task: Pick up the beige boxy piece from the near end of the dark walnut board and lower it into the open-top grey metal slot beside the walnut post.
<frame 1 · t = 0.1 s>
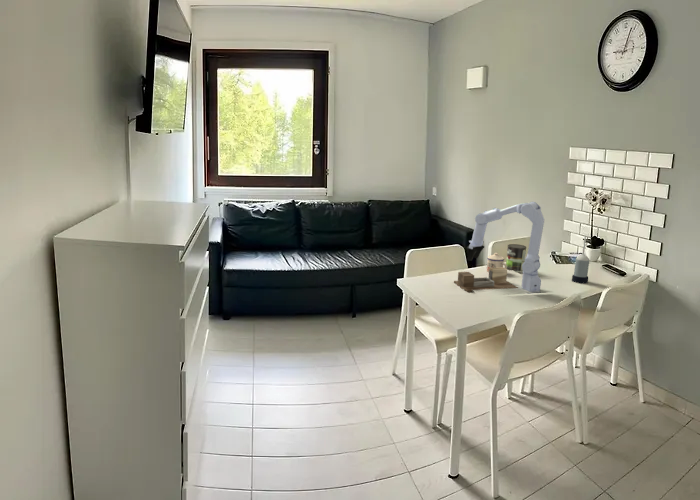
hand: (472, 259, 289), 11 cm above the table, tool pointing down, fingers open, 7 cm apart
post board: (485, 286, 278), on the table
teacup with lid: (496, 274, 302), on the table
humidifier: (579, 281, 292), on the table
coffee can: (514, 270, 312), on the table
beige boxy piece: (497, 281, 283), point 1 cm above the table, touching post board
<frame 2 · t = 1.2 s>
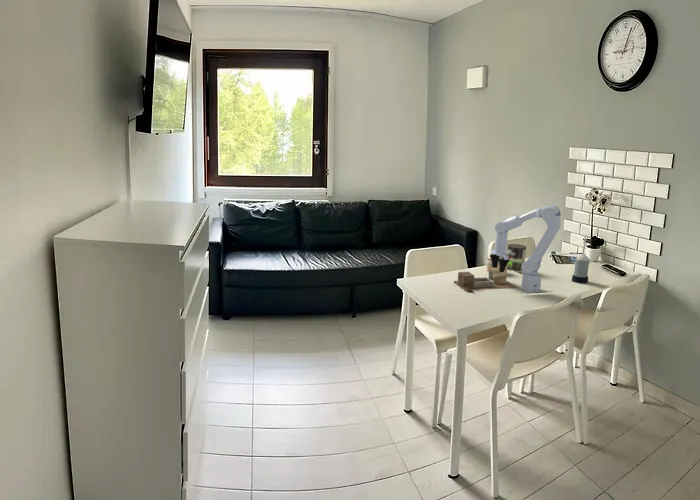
hand: (498, 270, 282), 7 cm above the table, tool pointing down, fingers open, 7 cm apart
nothing on the table moved.
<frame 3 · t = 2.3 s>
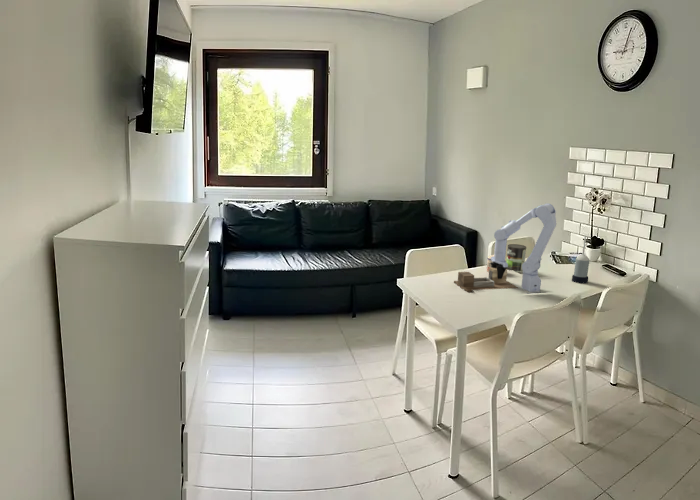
hand: (497, 277, 283), 3 cm above the table, tool pointing down, fingers closed on beige boxy piece, 4 cm apart
beige boxy piece: (497, 281, 283), point 1 cm above the table, touching gripper, post board
everything else where it was.
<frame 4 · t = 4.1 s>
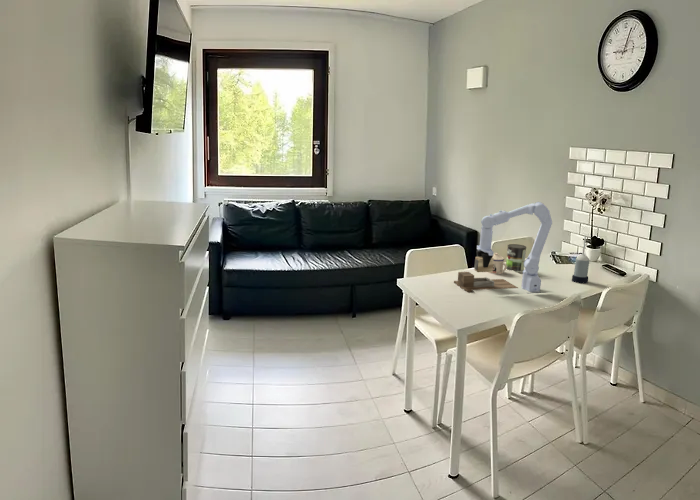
hand: (483, 266, 276), 10 cm above the table, tool pointing down, fingers closed on beige boxy piece, 4 cm apart
beige boxy piece: (483, 271, 276), point 8 cm above the table, touching gripper
everything else where it was.
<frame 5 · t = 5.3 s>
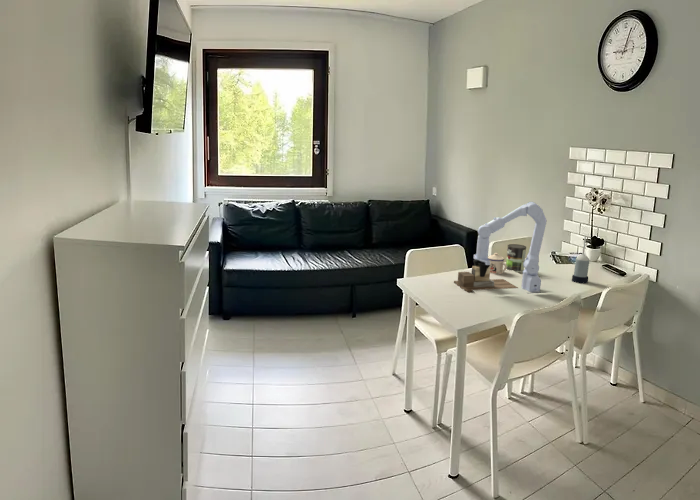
hand: (480, 275, 276), 6 cm above the table, tool pointing down, fingers closed on beige boxy piece, 4 cm apart
beige boxy piece: (480, 280, 276), point 3 cm above the table, touching gripper
everything else where it was.
when the fingers open (5 cm above the table, at t = 6.0 s): beige boxy piece drops 1 cm, resting on post board.
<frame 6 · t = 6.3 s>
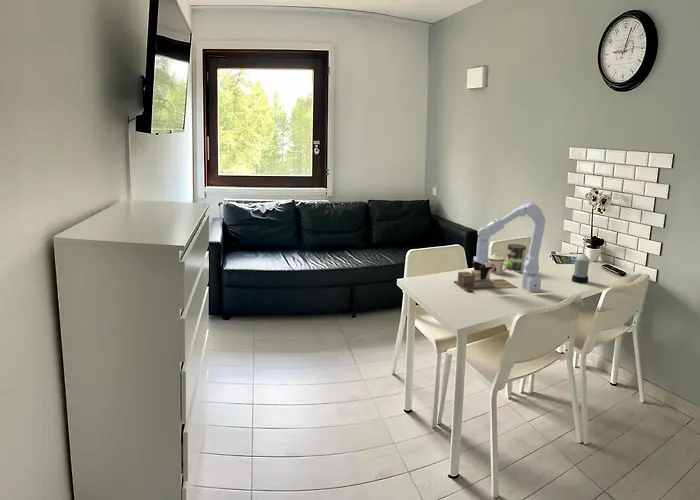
hand: (480, 277, 276), 5 cm above the table, tool pointing down, fingers open, 6 cm apart
beige boxy piece: (479, 284, 277), point 1 cm above the table, touching post board
everything else where it was.
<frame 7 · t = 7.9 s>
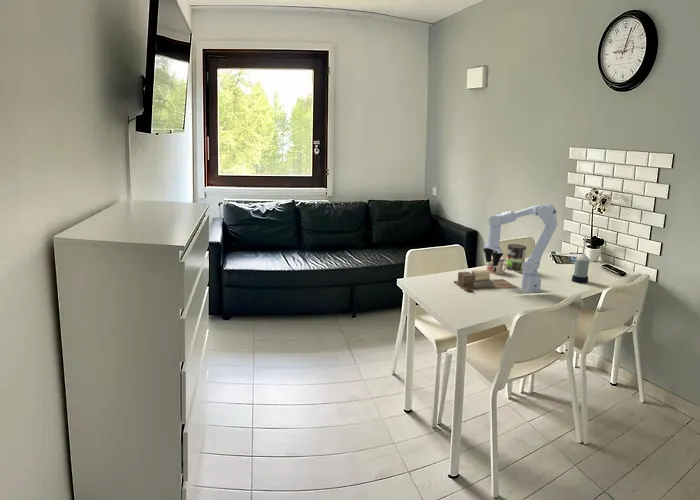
hand: (491, 263, 281), 10 cm above the table, tool pointing down, fingers open, 7 cm apart
nothing on the table moved.
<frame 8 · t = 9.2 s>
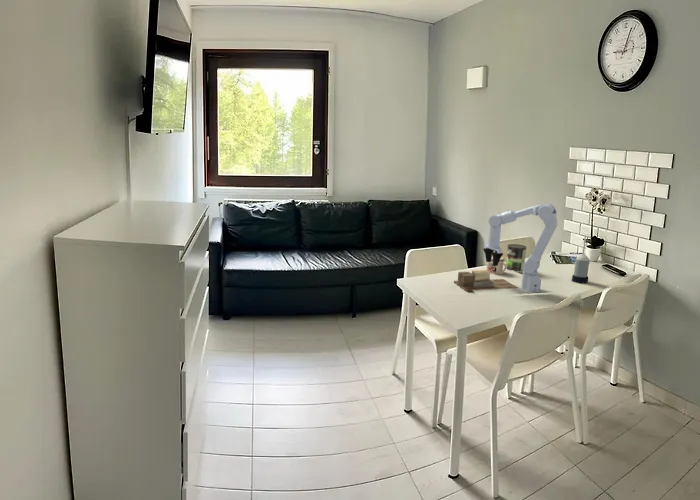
hand: (491, 263, 281), 10 cm above the table, tool pointing down, fingers open, 7 cm apart
nothing on the table moved.
at the end: beige boxy piece 0.2 cm from the target spot on the post board, point 1.0 cm above the post board's base; beige boxy piece tilted 0°; the gripper is holding nothing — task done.
